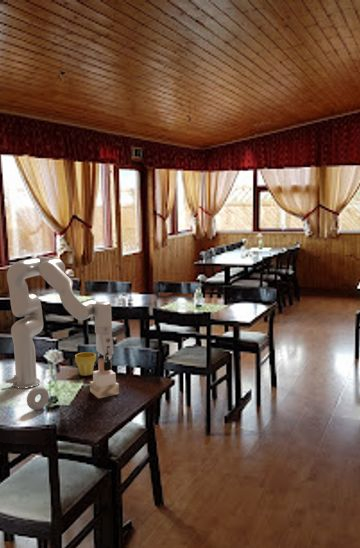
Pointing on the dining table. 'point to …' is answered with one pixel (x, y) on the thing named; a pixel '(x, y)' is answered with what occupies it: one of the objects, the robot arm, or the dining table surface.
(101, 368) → the terracotta cylinder
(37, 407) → the donut
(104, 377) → the tower top block
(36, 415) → the dining table surface
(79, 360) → the plant pot
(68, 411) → the dining table surface
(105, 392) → the tower base block
